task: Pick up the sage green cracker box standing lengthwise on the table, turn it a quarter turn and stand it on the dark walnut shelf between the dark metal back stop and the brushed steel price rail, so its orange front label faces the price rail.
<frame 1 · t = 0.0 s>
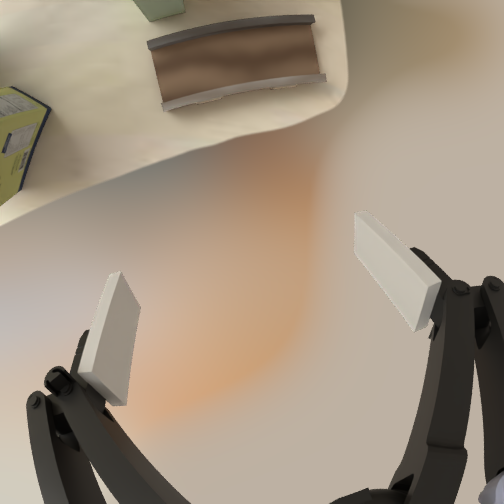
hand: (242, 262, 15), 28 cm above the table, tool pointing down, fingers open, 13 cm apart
facing shelf: (237, 57, 31), on the table
protein box: (15, 138, 30), on the table
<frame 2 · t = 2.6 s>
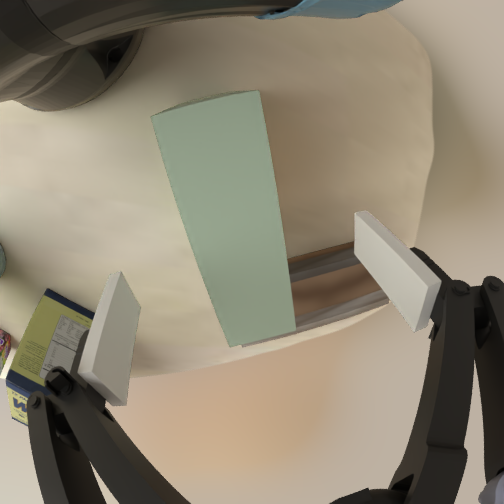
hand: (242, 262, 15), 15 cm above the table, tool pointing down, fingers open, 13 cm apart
facing shelf: (312, 285, 37), on the table
protein box: (68, 332, 35), on the table
cracker box: (222, 175, 27), on the table
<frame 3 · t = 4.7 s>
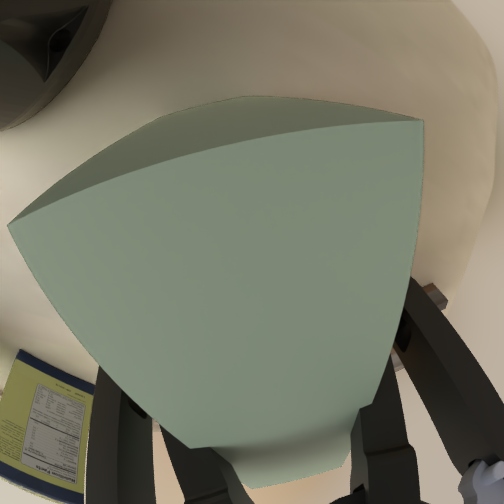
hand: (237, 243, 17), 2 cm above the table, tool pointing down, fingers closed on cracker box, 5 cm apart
facing shelf: (342, 347, 28), on the table
protein box: (51, 390, 26), on the table
cracker box: (232, 226, 19), on the table, touching gripper
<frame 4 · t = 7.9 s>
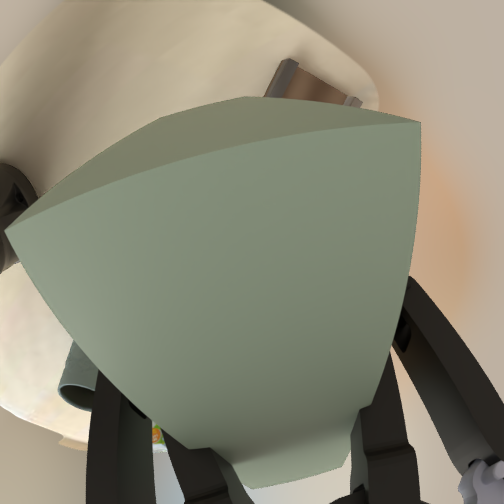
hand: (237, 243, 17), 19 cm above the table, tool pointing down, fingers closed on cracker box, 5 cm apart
facing shelf: (281, 155, 34), on the table
snack box: (130, 395, 56), on the table
cracker box: (231, 226, 18), point 17 cm above the table, touching gripper
green cup: (95, 346, 46), on the table
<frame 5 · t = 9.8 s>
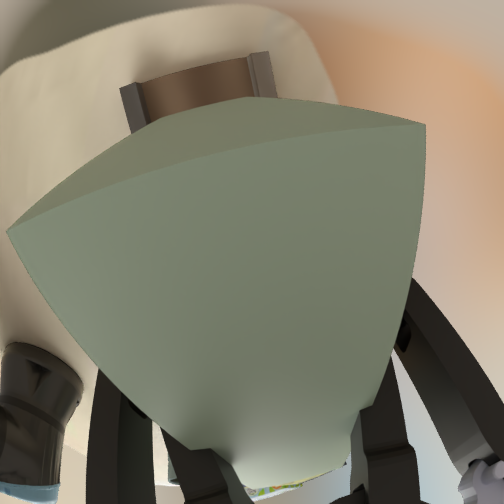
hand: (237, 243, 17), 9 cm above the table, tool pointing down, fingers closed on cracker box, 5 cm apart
facing shelf: (223, 194, 24), on the table
snack box: (251, 443, 56), on the table
cracker box: (232, 227, 18), point 6 cm above the table, touching gripper
when the fingers open (4 cm above the table, at t = 11.4 s): cracker box stays where it is, resting on facing shelf.
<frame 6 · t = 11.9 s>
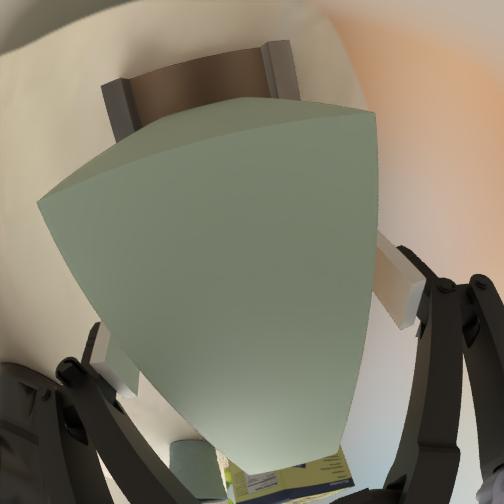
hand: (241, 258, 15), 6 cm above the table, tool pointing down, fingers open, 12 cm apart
facing shelf: (230, 214, 20), on the table
protein box: (277, 419, 41), on the table
cracker box: (230, 221, 19), point 1 cm above the table, touching facing shelf
green cup: (193, 445, 43), on the table
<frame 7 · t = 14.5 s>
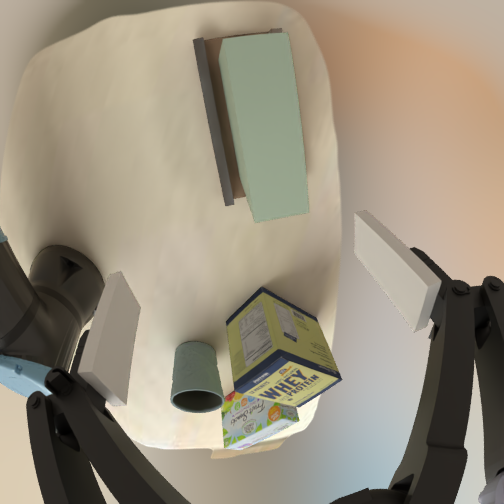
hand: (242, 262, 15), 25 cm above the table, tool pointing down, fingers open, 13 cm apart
facing shelf: (248, 114, 33), on the table
protein box: (273, 319, 54), on the table
snack box: (250, 384, 66), on the table
cracker box: (248, 115, 32), point 1 cm above the table, touching facing shelf
green cup: (196, 353, 56), on the table
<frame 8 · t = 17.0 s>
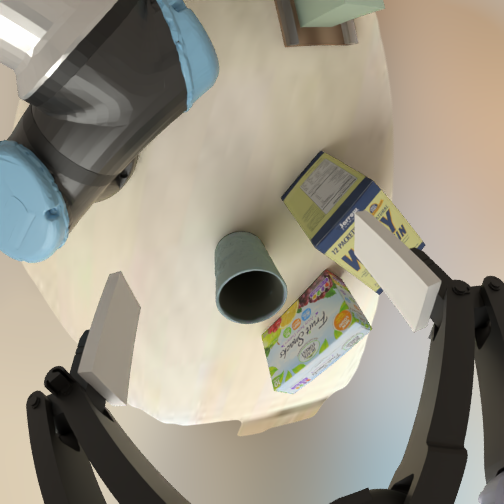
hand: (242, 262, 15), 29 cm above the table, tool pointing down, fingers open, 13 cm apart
protein box: (331, 199, 46), on the table
snack box: (298, 308, 59), on the table
green cup: (240, 252, 49), on the table
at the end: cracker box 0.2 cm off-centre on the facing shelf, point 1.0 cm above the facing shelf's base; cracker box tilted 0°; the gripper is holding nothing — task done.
